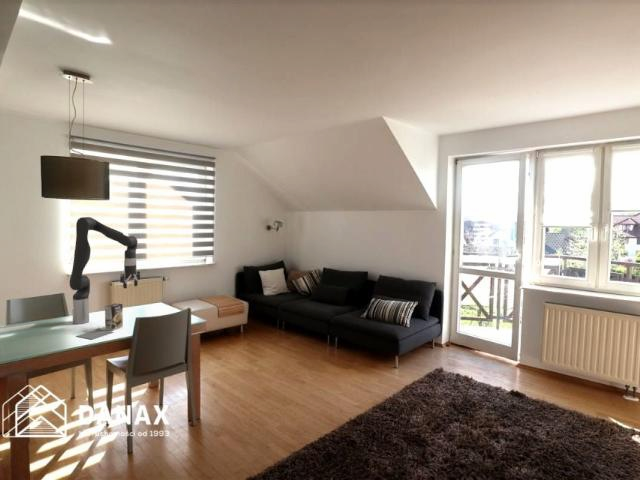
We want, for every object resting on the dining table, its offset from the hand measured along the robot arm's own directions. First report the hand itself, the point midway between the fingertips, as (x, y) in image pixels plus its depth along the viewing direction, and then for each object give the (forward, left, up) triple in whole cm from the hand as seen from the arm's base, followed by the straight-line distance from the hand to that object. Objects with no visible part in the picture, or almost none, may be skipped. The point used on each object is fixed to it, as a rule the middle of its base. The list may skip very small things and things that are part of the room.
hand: (130, 287), depth 250 cm
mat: (-1, -26, -26) cm, 37 cm away
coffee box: (-1, -13, -26) cm, 29 cm away
